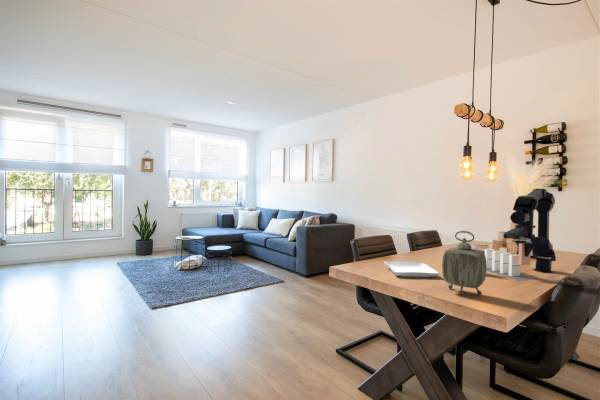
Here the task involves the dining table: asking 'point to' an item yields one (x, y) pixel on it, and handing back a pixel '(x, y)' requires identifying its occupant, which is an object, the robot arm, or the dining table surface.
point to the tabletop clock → (464, 266)
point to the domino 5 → (523, 256)
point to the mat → (521, 277)
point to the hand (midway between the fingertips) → (524, 256)
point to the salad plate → (411, 269)
